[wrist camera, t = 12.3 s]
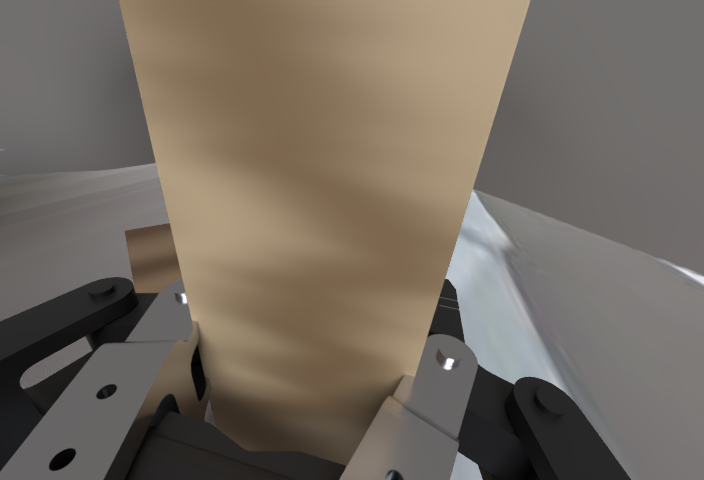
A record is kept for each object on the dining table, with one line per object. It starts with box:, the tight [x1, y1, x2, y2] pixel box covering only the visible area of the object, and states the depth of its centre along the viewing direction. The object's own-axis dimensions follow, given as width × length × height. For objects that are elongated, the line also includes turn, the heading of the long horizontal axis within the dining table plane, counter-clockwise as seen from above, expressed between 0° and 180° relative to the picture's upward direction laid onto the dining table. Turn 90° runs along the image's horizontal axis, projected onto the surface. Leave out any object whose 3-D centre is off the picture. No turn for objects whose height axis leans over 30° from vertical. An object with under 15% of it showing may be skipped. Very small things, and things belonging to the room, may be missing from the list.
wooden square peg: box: [119, 0, 530, 467], centre depth 9 cm, size 5×5×20 cm
